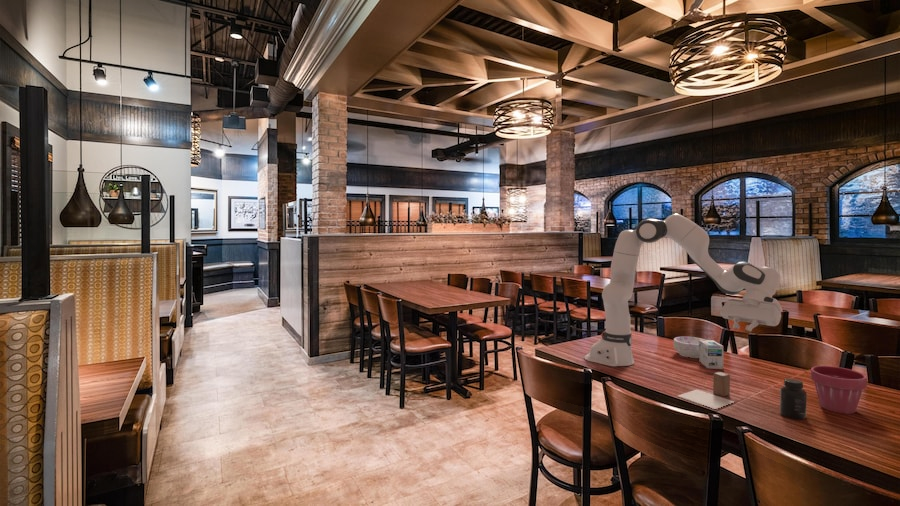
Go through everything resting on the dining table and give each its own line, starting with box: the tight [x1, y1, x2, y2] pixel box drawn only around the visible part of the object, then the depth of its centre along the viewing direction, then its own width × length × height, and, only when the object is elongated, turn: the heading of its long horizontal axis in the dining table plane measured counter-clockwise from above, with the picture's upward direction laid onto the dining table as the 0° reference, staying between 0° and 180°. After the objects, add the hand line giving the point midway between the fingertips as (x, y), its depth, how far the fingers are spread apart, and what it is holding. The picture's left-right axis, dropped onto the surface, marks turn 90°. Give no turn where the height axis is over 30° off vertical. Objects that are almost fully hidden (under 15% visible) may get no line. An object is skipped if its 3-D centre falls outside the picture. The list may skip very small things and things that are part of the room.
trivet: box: [676, 389, 735, 410], centre depth 154 cm, size 12×14×1 cm
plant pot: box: [810, 365, 868, 415], centre depth 144 cm, size 14×14×13 cm
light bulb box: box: [698, 339, 724, 370], centre depth 193 cm, size 11×7×11 cm, turn 168°
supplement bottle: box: [779, 378, 807, 421], centre depth 139 cm, size 7×7×12 cm
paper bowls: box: [673, 336, 705, 359], centre depth 208 cm, size 15×15×8 cm
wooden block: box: [712, 371, 731, 398], centre depth 159 cm, size 4×4×8 cm
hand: (741, 329), depth 164 cm, fingers open, 3 cm apart
